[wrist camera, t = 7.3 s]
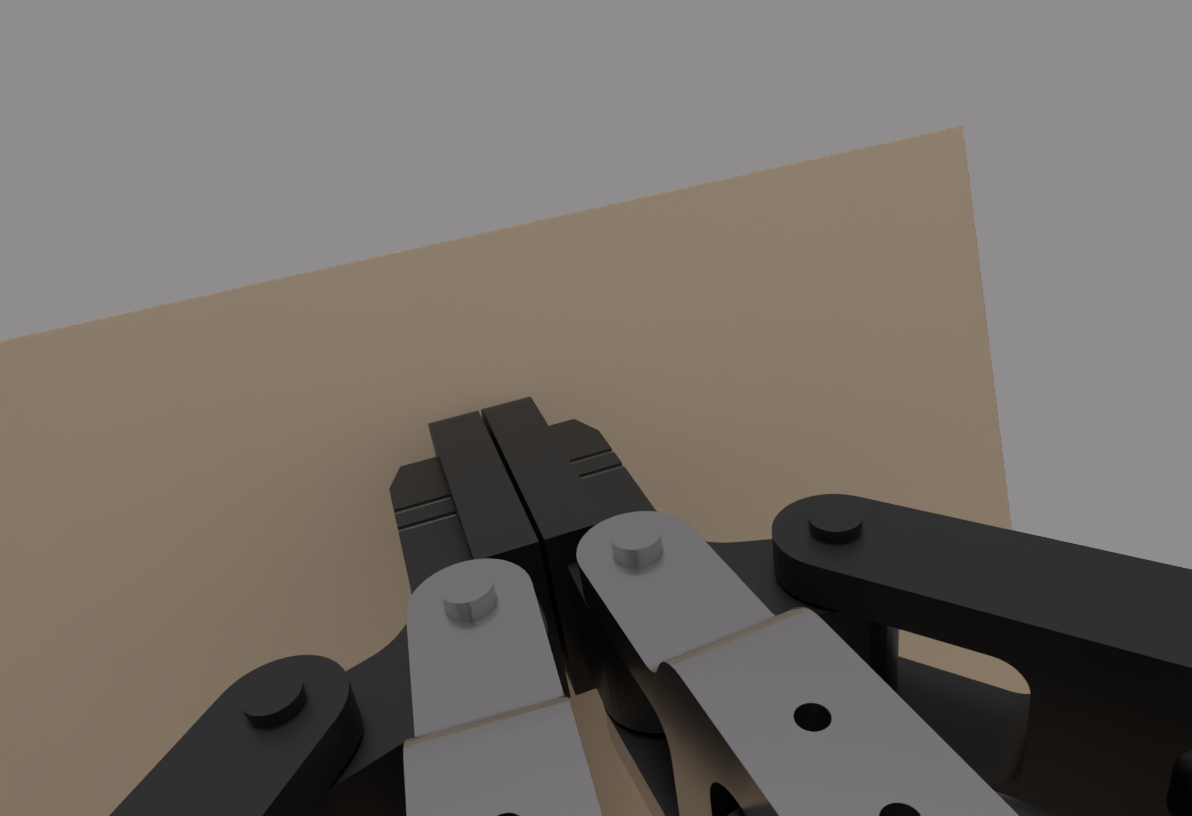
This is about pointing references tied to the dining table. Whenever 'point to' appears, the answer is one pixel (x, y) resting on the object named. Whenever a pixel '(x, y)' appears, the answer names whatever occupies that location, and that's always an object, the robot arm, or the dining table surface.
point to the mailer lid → (451, 388)
